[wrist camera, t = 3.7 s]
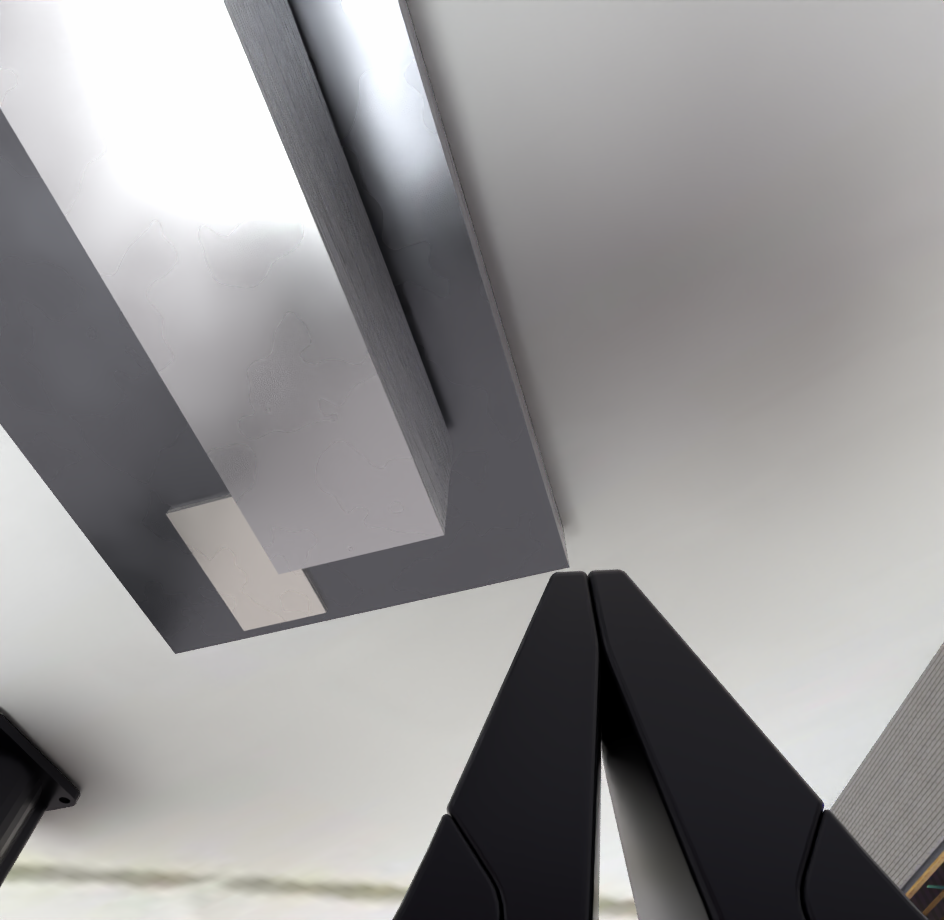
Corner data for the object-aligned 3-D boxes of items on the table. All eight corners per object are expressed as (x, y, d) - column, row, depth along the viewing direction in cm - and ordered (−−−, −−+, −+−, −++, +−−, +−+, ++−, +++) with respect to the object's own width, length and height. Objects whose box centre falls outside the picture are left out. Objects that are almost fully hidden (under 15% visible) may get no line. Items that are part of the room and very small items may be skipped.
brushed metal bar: (455, 412, 20) (443, 538, 14) (331, 445, 20) (277, 577, 15) (129, -494, 11) (-188, -981, 6) (-68, -382, 12) (-507, -730, 6)
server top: (562, 528, 22) (569, 571, 20) (196, 612, 25) (173, 658, 23) (220, -623, 11) (162, -769, 9) (-412, -250, 13) (-565, -303, 11)
